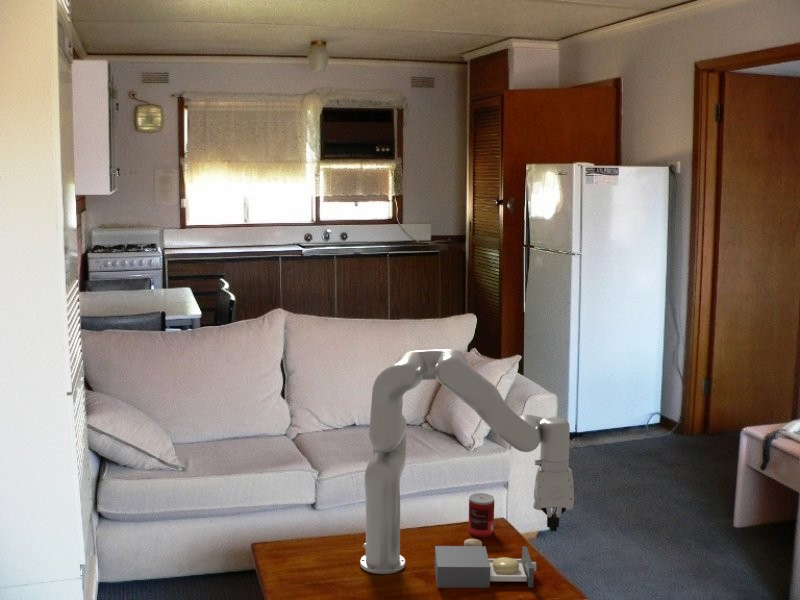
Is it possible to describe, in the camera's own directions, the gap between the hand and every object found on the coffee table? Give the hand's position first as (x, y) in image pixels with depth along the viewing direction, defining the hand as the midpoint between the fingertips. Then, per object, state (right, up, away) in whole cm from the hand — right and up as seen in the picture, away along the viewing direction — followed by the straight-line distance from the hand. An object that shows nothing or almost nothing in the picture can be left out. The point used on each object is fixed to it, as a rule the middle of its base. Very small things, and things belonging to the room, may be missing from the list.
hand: (552, 529), depth 251 cm
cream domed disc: (-13, -11, +2) cm, 17 cm away
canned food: (-17, -9, +31) cm, 37 cm away
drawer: (-12, -13, +2) cm, 18 cm away
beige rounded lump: (-21, -11, +14) cm, 27 cm away
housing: (-25, -13, +2) cm, 28 cm away
